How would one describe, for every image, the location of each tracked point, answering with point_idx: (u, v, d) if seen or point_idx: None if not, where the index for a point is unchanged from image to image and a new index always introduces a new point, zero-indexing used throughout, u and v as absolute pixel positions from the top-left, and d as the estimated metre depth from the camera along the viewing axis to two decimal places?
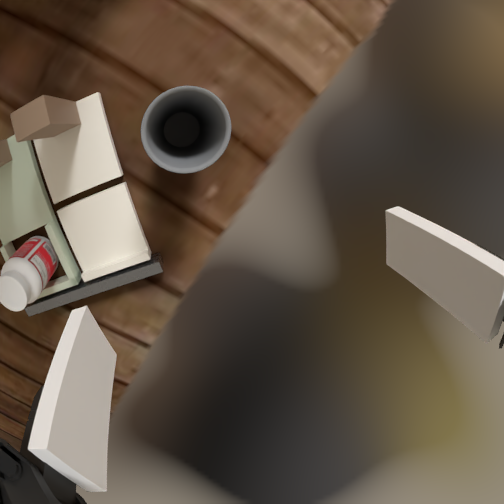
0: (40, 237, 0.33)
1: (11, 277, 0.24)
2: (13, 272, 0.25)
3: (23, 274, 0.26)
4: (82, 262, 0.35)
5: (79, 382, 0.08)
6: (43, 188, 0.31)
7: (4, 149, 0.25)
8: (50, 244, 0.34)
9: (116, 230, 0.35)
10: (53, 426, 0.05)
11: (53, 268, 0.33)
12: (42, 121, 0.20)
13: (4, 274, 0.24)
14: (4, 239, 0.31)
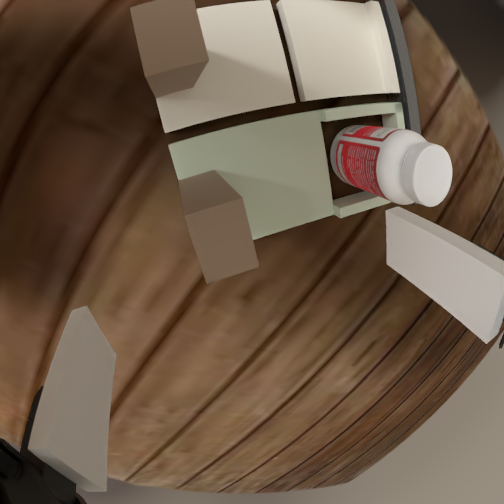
0: (334, 143, 0.26)
1: (418, 160, 0.17)
2: (406, 159, 0.18)
3: (406, 148, 0.19)
4: (375, 89, 0.24)
5: (79, 382, 0.08)
6: None
7: (195, 178, 0.22)
8: (346, 129, 0.25)
9: (340, 27, 0.21)
10: (53, 426, 0.05)
11: None
12: (182, 5, 0.10)
13: (409, 176, 0.18)
14: (327, 209, 0.28)
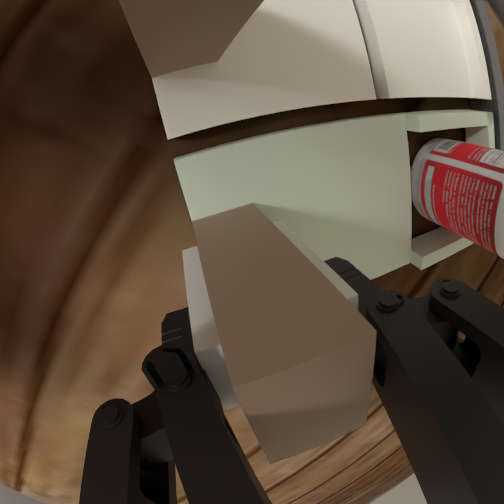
0: (418, 163, 0.17)
1: None
2: None
3: None
4: (464, 91, 0.15)
5: None
6: (336, 121, 0.14)
7: (223, 221, 0.13)
8: (433, 143, 0.16)
9: (423, 1, 0.11)
10: None
11: None
12: None
13: None
14: (403, 256, 0.18)
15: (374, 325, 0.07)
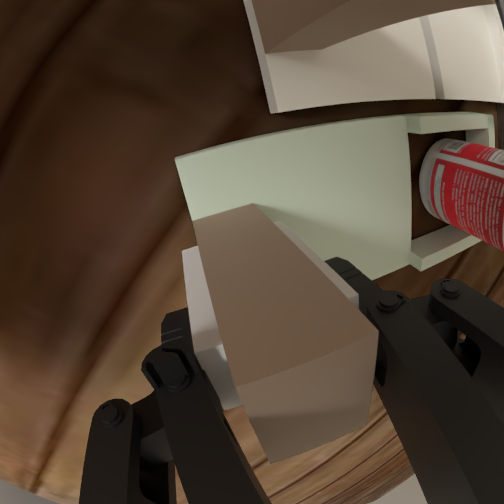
0: (428, 162, 0.17)
1: None
2: None
3: None
4: (495, 96, 0.15)
5: None
6: (337, 122, 0.14)
7: (224, 221, 0.13)
8: (442, 143, 0.16)
9: (466, 17, 0.12)
10: None
11: None
12: None
13: None
14: (403, 257, 0.18)
15: (374, 325, 0.07)
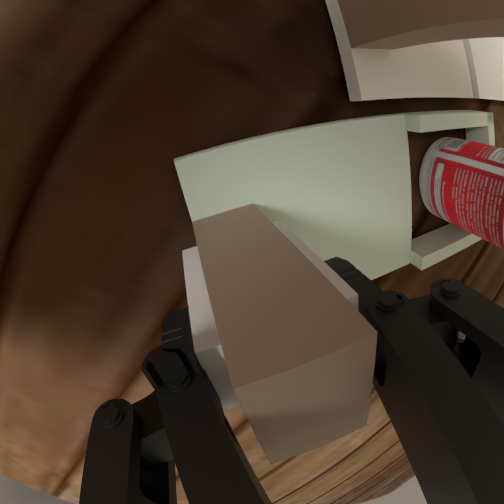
0: (428, 160, 0.17)
1: None
2: None
3: None
4: None
5: None
6: (336, 121, 0.14)
7: (224, 221, 0.13)
8: (442, 142, 0.16)
9: None
10: None
11: None
12: None
13: None
14: (403, 256, 0.18)
15: (374, 325, 0.07)
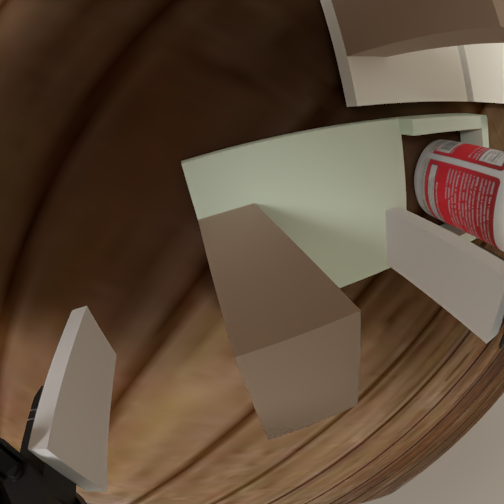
0: (422, 162, 0.18)
1: None
2: None
3: None
4: None
5: (79, 382, 0.08)
6: (333, 126, 0.15)
7: (227, 219, 0.14)
8: (436, 144, 0.17)
9: None
10: (53, 426, 0.05)
11: None
12: None
13: None
14: None
15: None
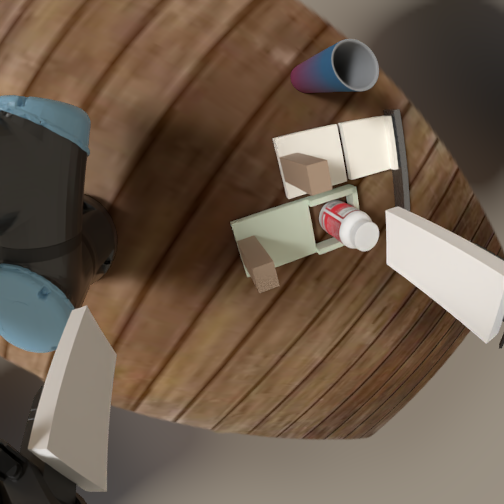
0: (321, 212, 0.51)
1: (357, 231, 0.42)
2: (352, 230, 0.43)
3: (354, 223, 0.43)
4: (385, 167, 0.49)
5: (79, 382, 0.08)
6: (280, 206, 0.48)
7: (246, 241, 0.47)
8: (328, 204, 0.50)
9: (369, 135, 0.46)
10: (53, 426, 0.05)
11: None
12: (324, 166, 0.36)
13: (353, 238, 0.43)
14: (312, 249, 0.52)
15: None
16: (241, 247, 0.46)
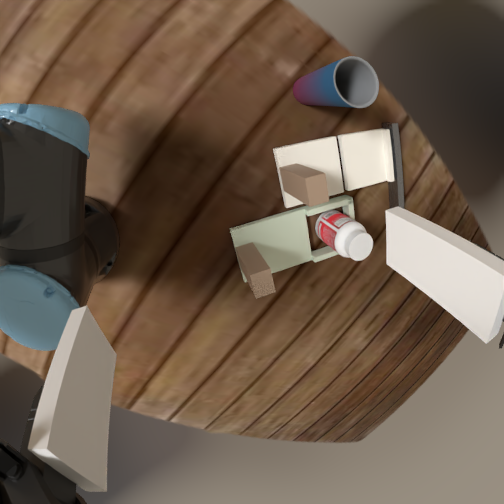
0: (318, 221, 0.52)
1: (351, 242, 0.44)
2: (347, 240, 0.45)
3: (349, 233, 0.45)
4: (381, 179, 0.52)
5: (79, 382, 0.08)
6: (278, 215, 0.50)
7: (244, 248, 0.49)
8: (324, 213, 0.52)
9: (367, 148, 0.48)
10: (53, 426, 0.05)
11: (343, 214, 0.51)
12: (322, 179, 0.38)
13: (347, 248, 0.45)
14: (308, 257, 0.54)
15: None
16: (239, 253, 0.47)
